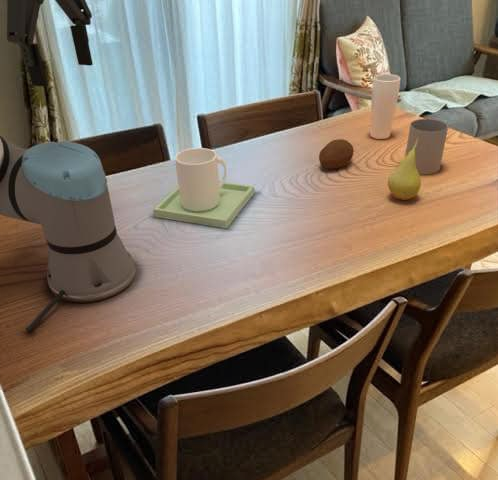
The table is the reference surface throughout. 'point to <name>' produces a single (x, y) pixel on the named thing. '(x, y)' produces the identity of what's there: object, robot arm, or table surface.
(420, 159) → the cup
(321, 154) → the potato
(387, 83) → the drinking glass
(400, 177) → the fruit
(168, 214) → the tray
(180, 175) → the mug
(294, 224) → the table surface
